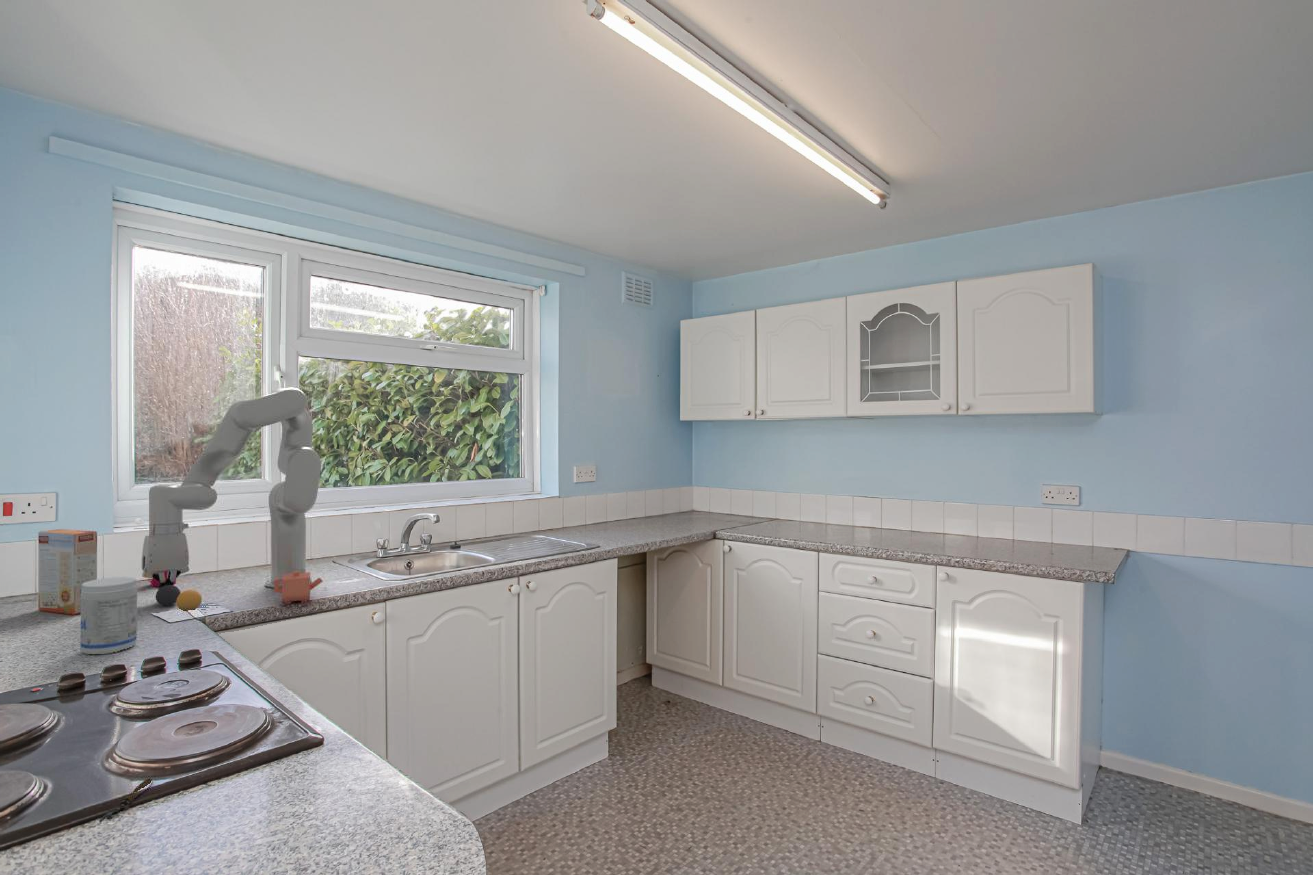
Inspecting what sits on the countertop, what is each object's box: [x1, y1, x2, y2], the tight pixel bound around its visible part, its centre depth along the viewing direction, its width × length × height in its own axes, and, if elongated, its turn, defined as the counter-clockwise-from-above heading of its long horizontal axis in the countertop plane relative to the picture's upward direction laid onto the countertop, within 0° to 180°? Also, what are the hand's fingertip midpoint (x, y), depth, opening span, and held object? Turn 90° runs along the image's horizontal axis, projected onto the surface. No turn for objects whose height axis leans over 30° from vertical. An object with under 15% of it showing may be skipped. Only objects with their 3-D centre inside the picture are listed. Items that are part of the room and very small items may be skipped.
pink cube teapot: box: [273, 571, 323, 605], centre depth 190 cm, size 8×12×8 cm, turn 116°
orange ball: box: [175, 589, 203, 611], centre depth 179 cm, size 6×6×6 cm
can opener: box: [99, 778, 153, 823], centre depth 87 cm, size 9×2×1 cm, turn 3°
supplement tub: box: [80, 576, 138, 656], centre depth 148 cm, size 10×10×15 cm
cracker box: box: [37, 528, 98, 616], centre depth 179 cm, size 14×6×21 cm, turn 71°
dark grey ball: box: [155, 584, 182, 607], centre depth 184 cm, size 6×6×6 cm
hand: (166, 596), depth 188 cm, fingers closed
